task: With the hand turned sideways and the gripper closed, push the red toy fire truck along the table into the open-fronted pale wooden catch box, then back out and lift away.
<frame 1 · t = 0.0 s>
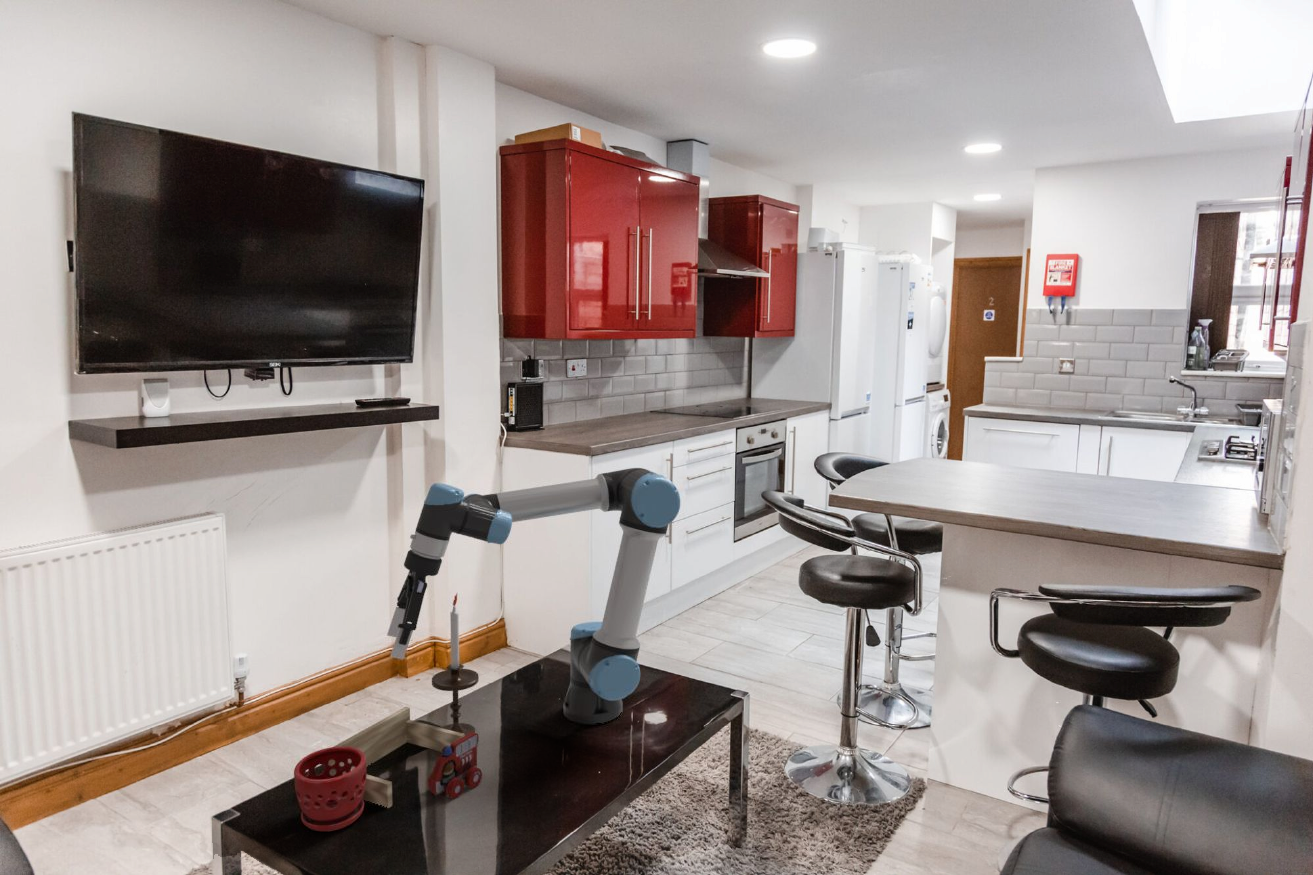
hand: (394, 646, 178), 28 cm above the table, tool tilted 20°, fingers open, 13 cm apart
plant pot: (332, 820, 161), on the table
catch box: (398, 770, 180), on the table
candlestick: (456, 735, 197), on the table
toy fire truck: (454, 789, 173), on the table
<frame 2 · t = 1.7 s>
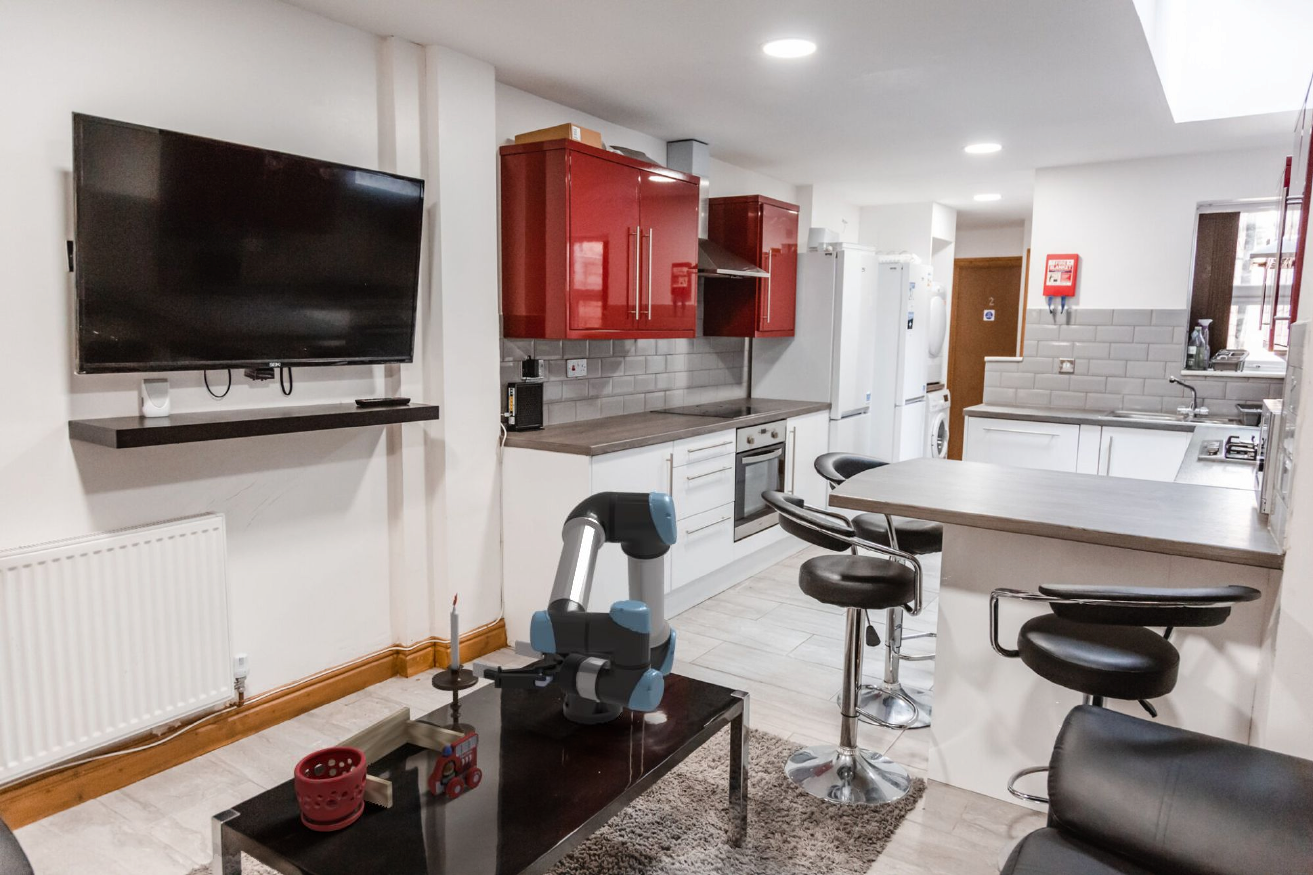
hand: (495, 657, 166), 30 cm above the table, tool horizontal, fingers open, 13 cm apart
nothing on the table moved.
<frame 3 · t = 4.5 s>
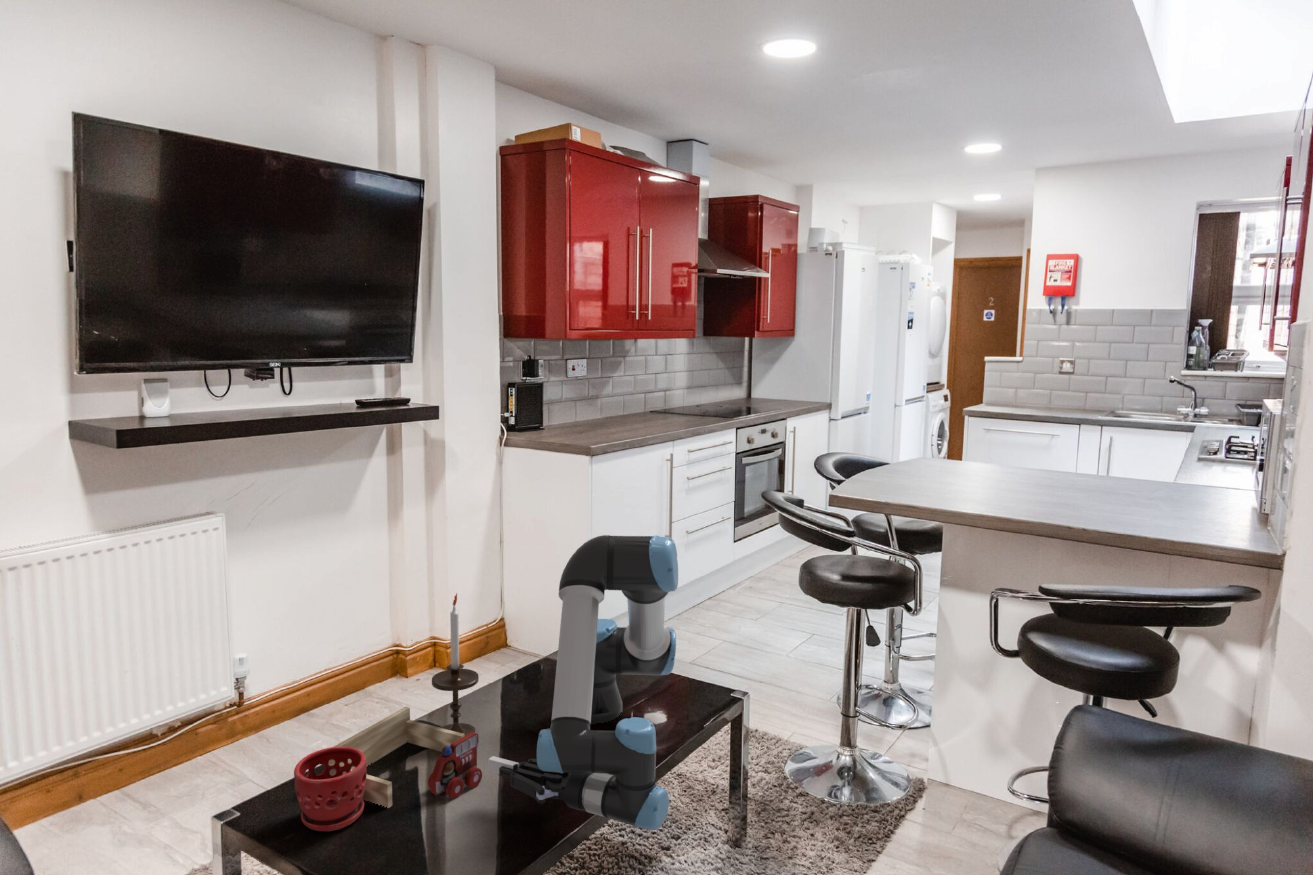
hand: (490, 763, 168), 8 cm above the table, tool horizontal, fingers closed
nothing on the table moved.
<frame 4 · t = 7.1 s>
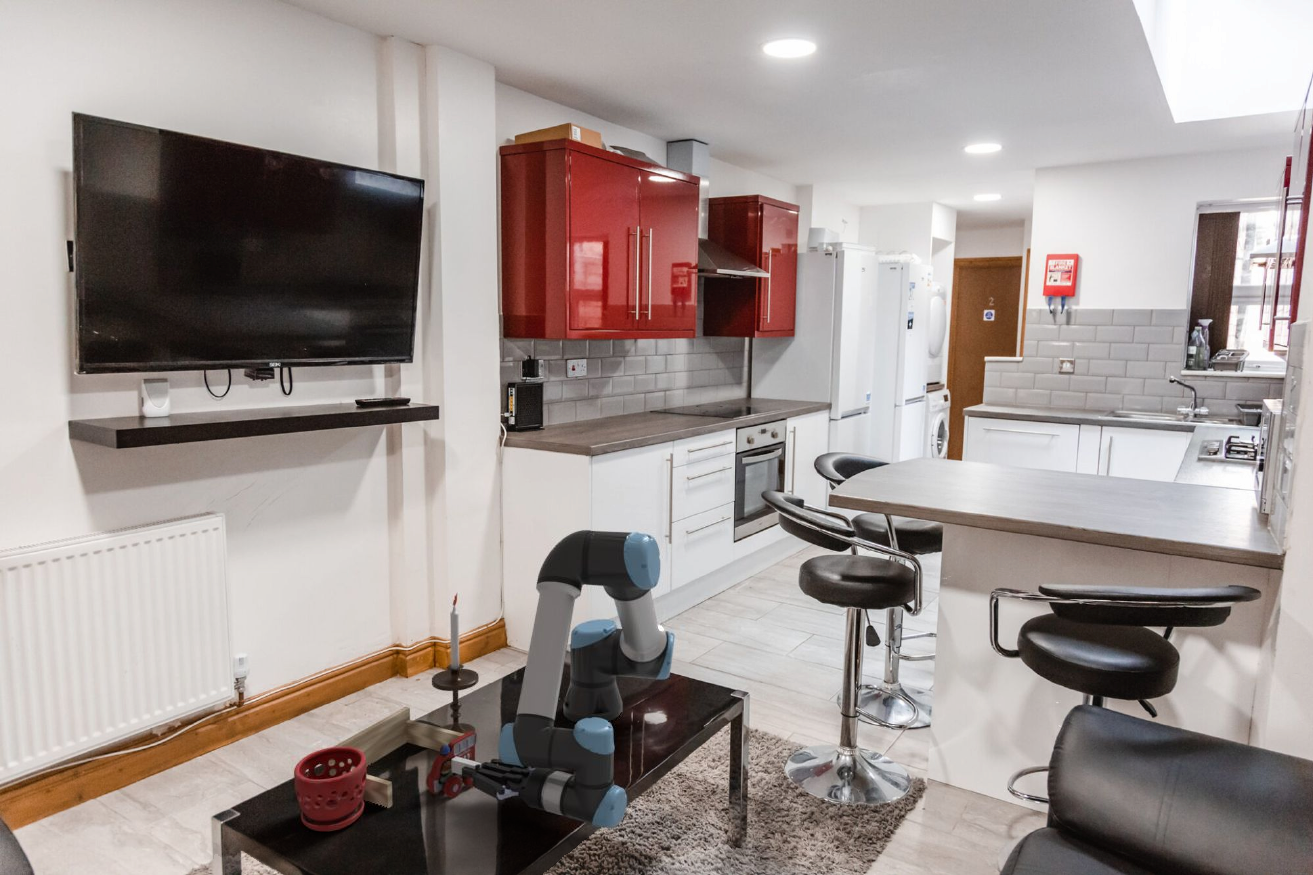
hand: (453, 764, 171), 6 cm above the table, tool horizontal, fingers closed
toy fire truck: (453, 788, 174), on the table, touching gripper
everything else where it was.
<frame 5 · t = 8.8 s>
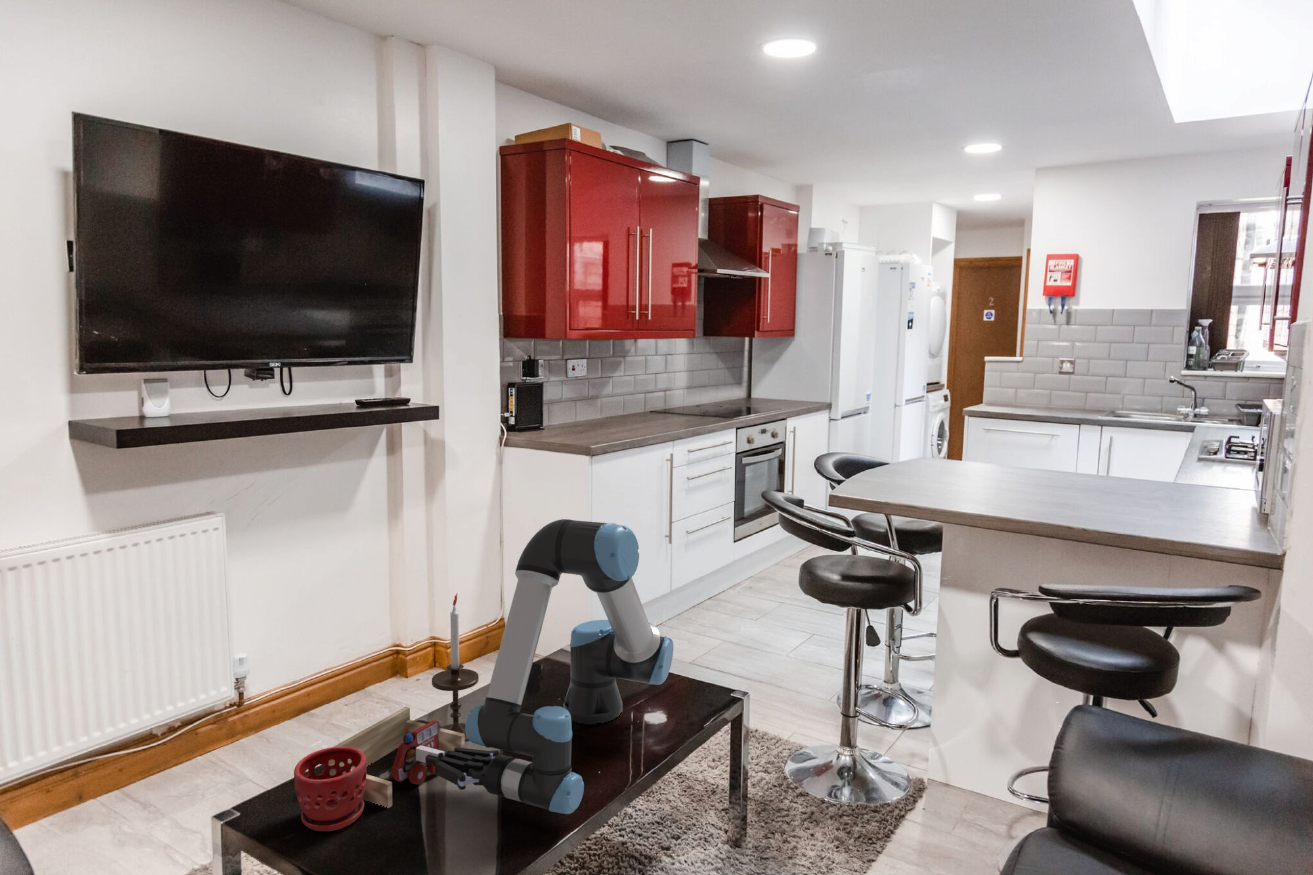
hand: (418, 752, 175), 6 cm above the table, tool horizontal, fingers closed
toy fire truck: (418, 776, 178), on the table, touching gripper
everything else where it was.
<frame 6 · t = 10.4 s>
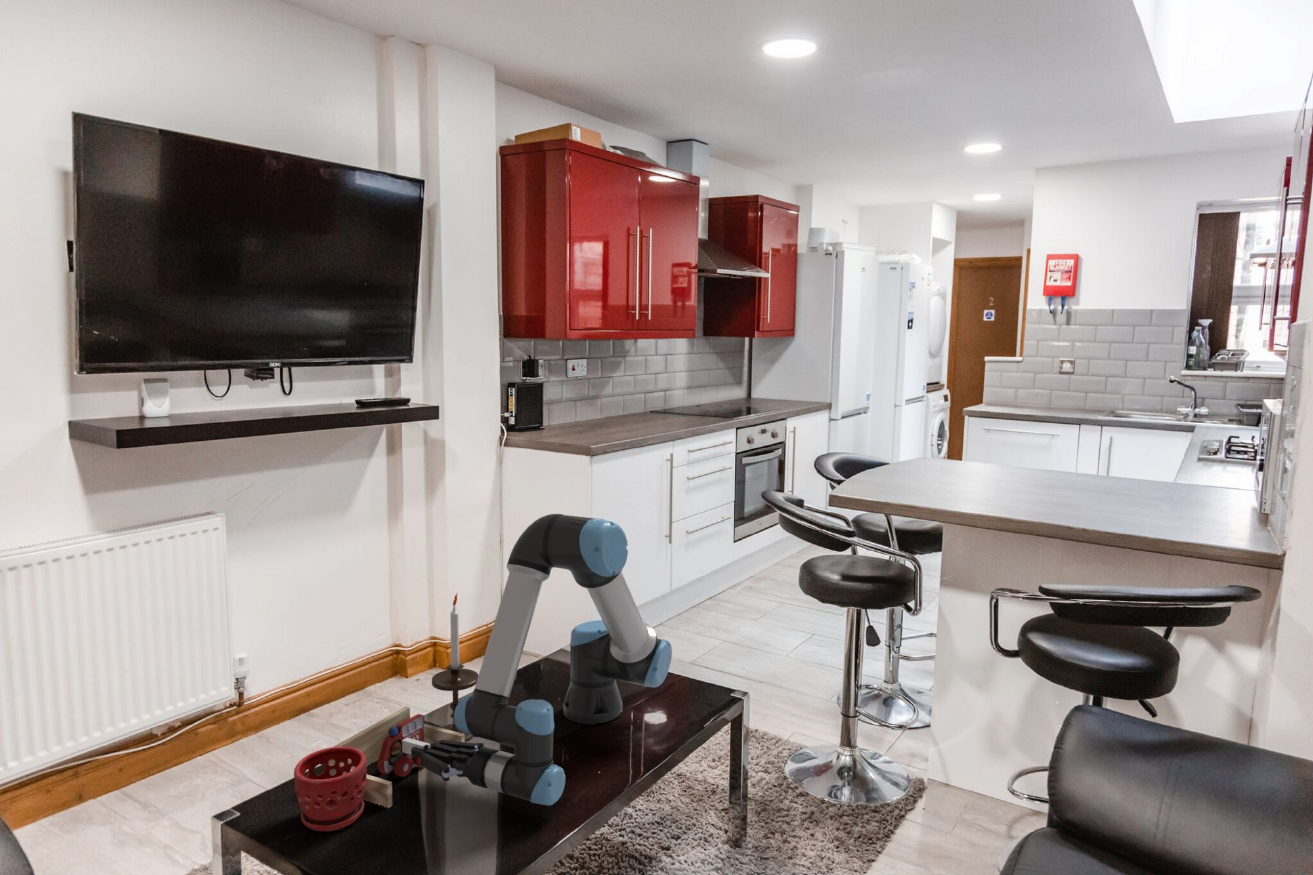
hand: (404, 744, 178), 7 cm above the table, tool horizontal, fingers closed
toy fire truck: (404, 769, 180), on the table, touching gripper
everything else where it was.
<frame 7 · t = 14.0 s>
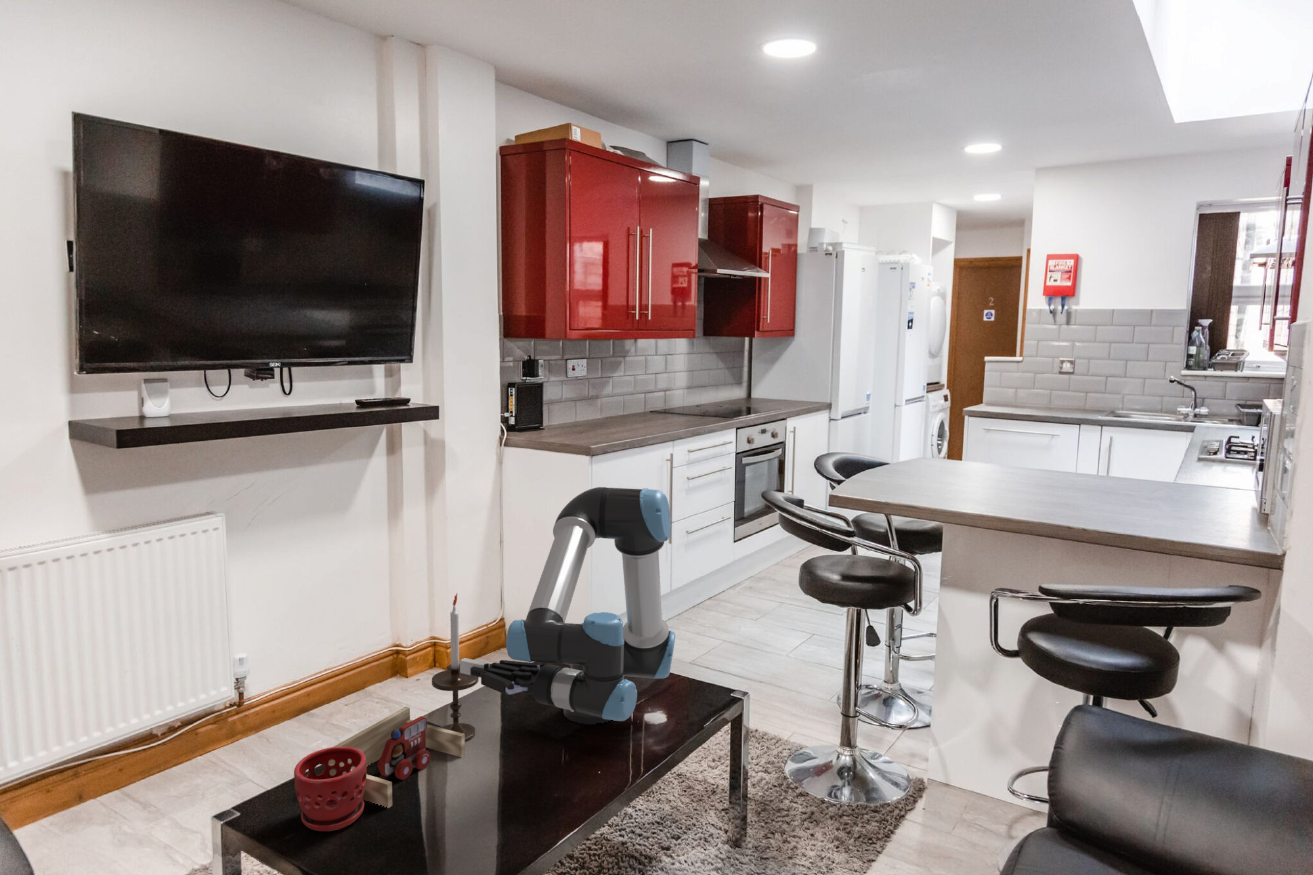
hand: (462, 665, 169), 27 cm above the table, tool horizontal, fingers closed
toy fire truck: (404, 771, 181), on the table
everything else where it was.
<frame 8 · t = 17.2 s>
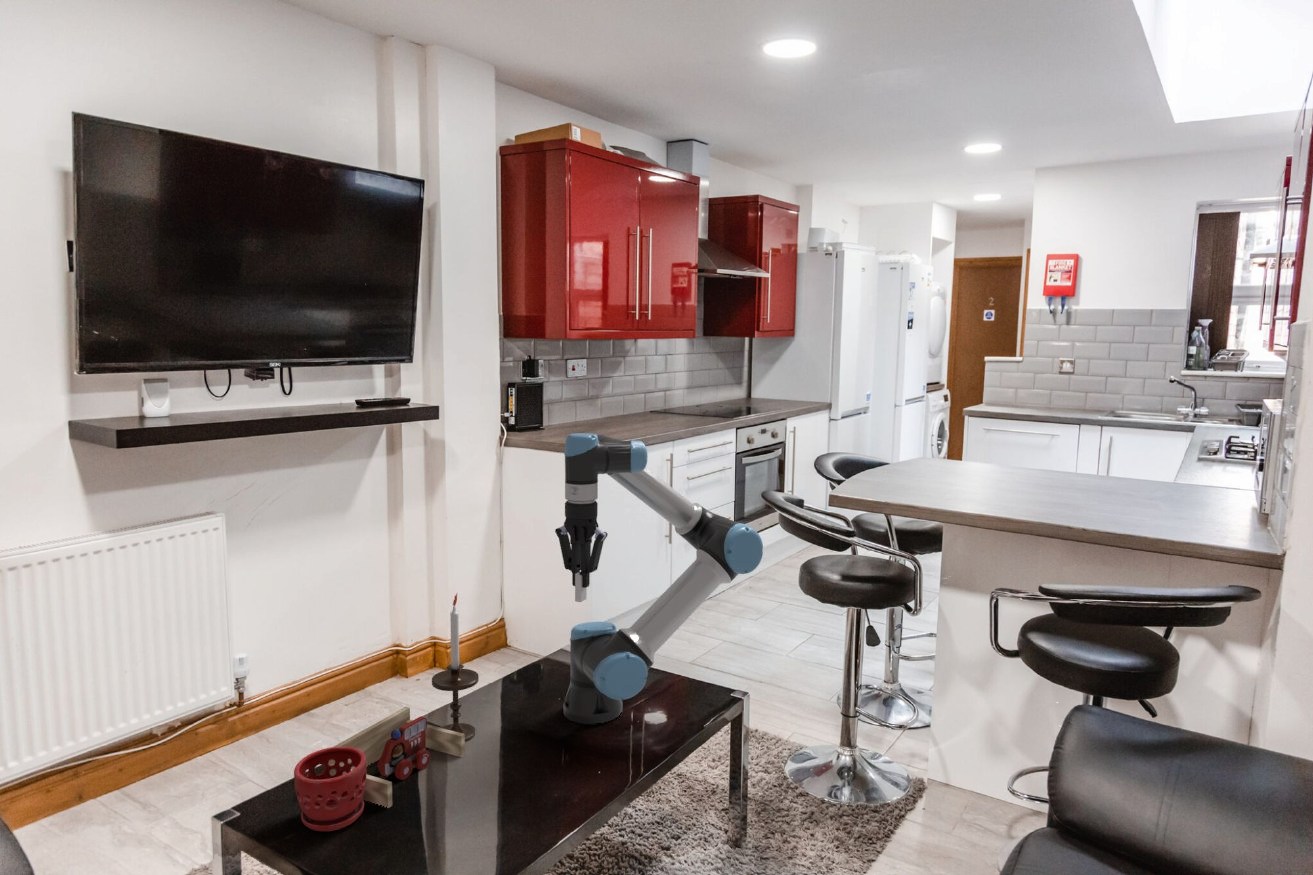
hand: (580, 600, 191), 34 cm above the table, tool pointing down, fingers closed
nothing on the table moved.
at the end: toy fire truck inside the target area on the catch box (1.1 cm from its centre), point 0.0 cm above the catch box's base; toy fire truck tilted 0° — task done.
